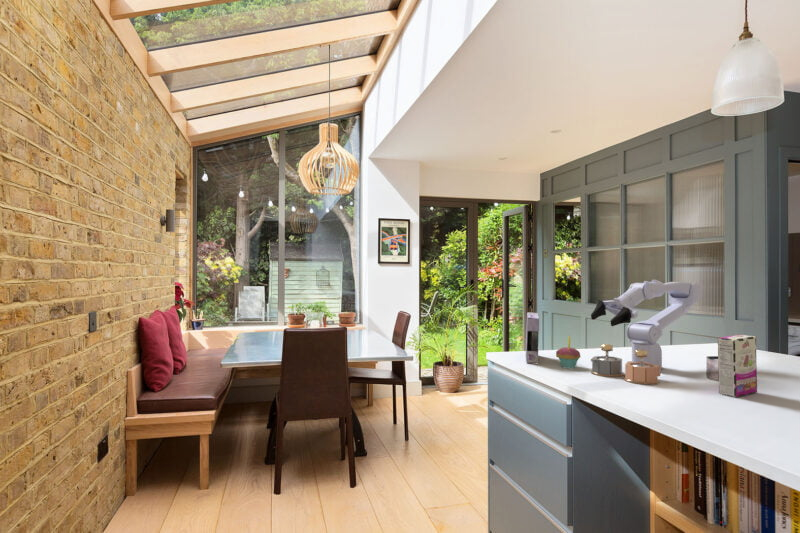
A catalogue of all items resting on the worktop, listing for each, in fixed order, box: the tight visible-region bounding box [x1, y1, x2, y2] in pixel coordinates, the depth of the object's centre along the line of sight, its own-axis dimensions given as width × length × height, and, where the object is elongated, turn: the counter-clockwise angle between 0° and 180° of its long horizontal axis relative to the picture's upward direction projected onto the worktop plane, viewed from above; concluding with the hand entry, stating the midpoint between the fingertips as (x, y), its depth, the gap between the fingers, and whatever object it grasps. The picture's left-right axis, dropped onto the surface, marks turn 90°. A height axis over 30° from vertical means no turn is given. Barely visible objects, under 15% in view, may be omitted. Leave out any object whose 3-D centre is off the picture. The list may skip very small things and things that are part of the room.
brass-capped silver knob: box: [599, 343, 615, 360], centre depth 171 cm, size 5×5×5 cm
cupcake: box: [555, 334, 581, 369], centre depth 182 cm, size 9×8×12 cm
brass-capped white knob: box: [633, 350, 650, 367], centre depth 160 cm, size 5×5×5 cm
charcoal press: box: [590, 355, 625, 378], centre depth 171 cm, size 11×12×5 cm
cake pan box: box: [525, 312, 540, 364], centre depth 196 cm, size 19×5×18 cm, turn 166°
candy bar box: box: [717, 334, 758, 398], centre depth 144 cm, size 11×5×16 cm, turn 117°
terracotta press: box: [623, 360, 661, 386], centre depth 160 cm, size 11×12×5 cm
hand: (601, 320), depth 169 cm, fingers open, 7 cm apart
